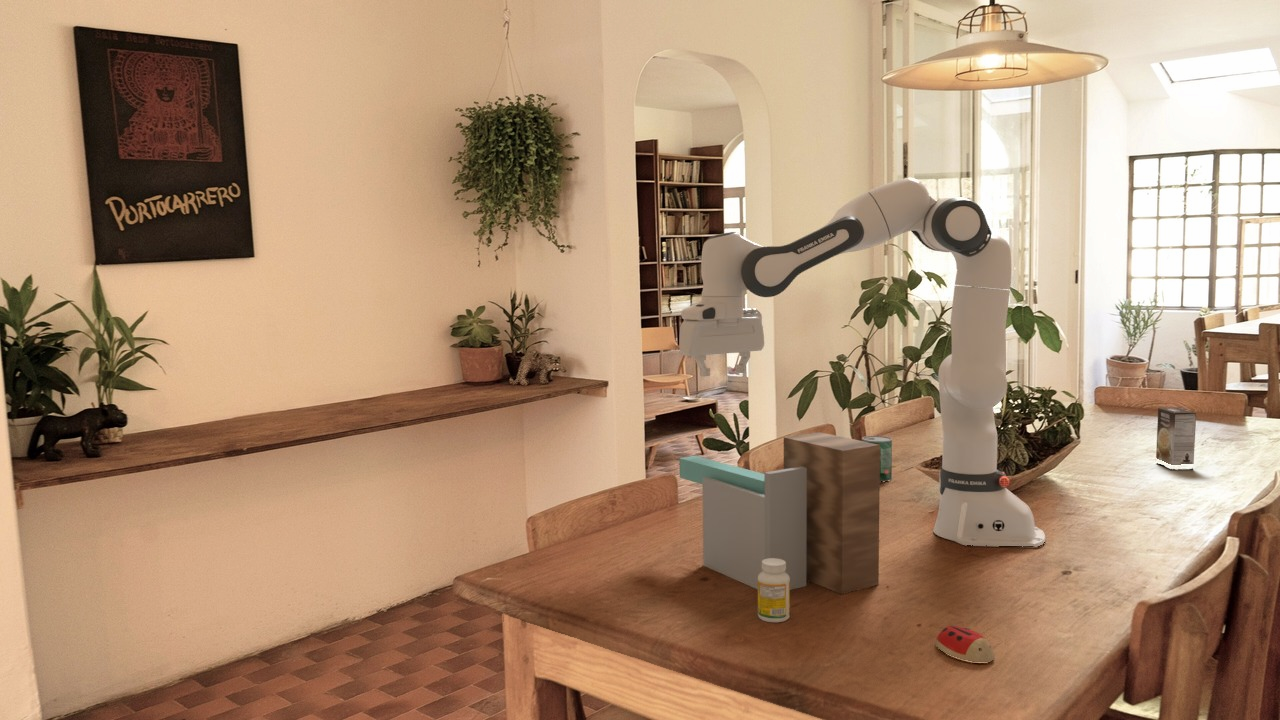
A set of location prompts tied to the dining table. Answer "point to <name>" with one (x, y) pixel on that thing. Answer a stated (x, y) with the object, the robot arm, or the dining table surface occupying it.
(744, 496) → the grey boxy piece
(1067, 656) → the dining table surface
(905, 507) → the dining table surface
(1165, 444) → the coffee box
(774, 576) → the supplement bottle
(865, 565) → the stand
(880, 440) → the canned tomato
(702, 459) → the teal square bar
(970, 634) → the ladybug figurine
